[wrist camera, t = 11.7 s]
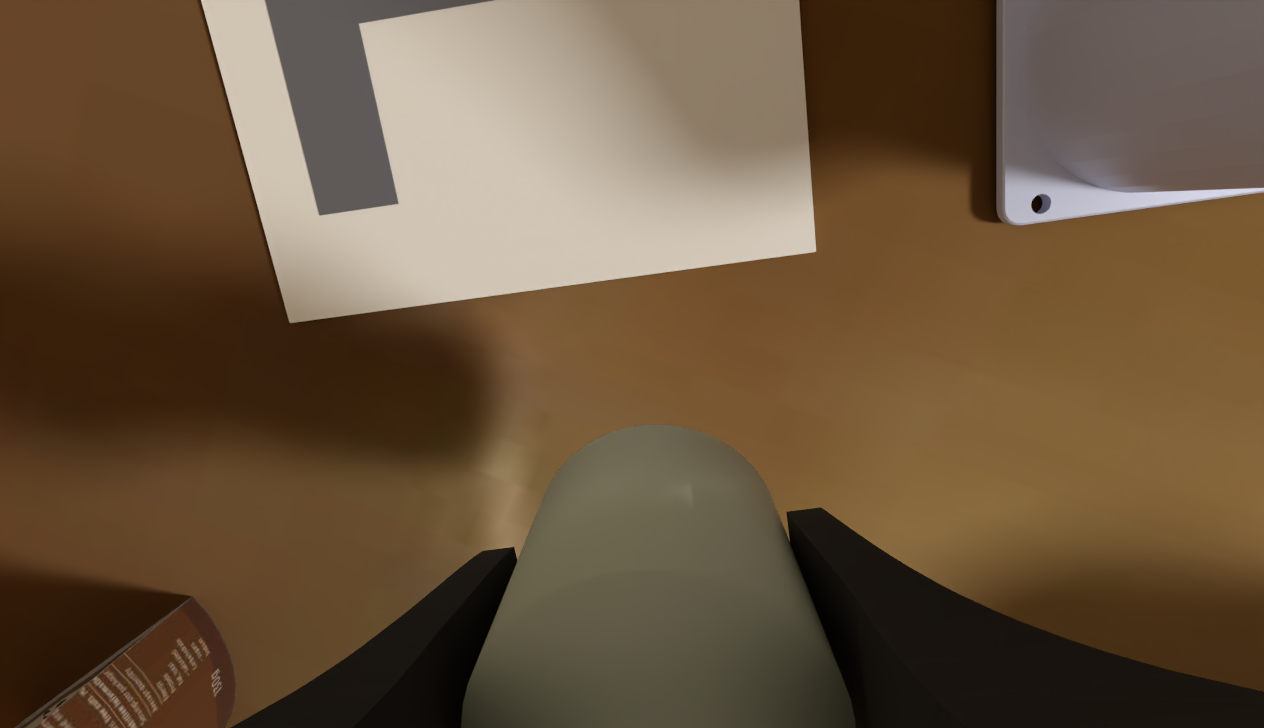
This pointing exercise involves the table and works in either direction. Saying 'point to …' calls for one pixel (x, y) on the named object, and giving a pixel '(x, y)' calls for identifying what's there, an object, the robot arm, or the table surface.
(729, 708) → the sage cylinder
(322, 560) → the table surface
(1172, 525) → the table surface
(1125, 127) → the robot arm
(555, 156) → the board
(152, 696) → the food container
